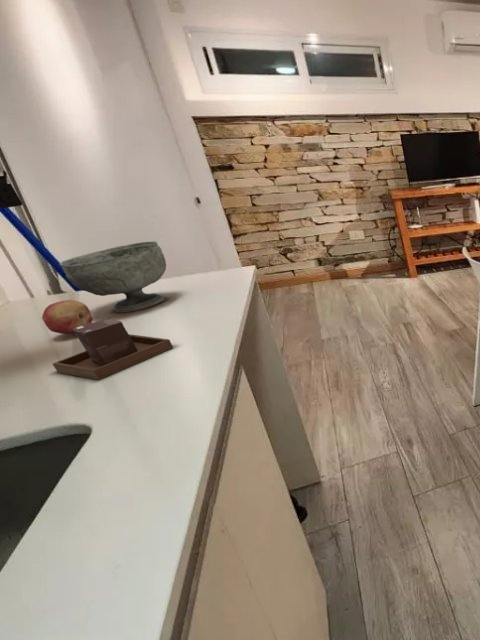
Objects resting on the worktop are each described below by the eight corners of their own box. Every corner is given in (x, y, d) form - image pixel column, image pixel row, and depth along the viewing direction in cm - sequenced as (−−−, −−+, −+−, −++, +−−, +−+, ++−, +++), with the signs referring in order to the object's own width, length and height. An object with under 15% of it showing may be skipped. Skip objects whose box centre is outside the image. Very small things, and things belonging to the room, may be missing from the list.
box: (140, 353, 97) (122, 321, 94) (102, 367, 93) (82, 333, 90) (128, 348, 100) (110, 316, 97) (91, 361, 96) (71, 328, 93)
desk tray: (99, 379, 89) (93, 370, 88) (57, 372, 93) (51, 363, 92) (173, 347, 100) (169, 339, 99) (133, 342, 104) (129, 334, 104)
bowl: (115, 299, 133) (86, 247, 126) (195, 287, 138) (171, 237, 131) (69, 326, 116) (32, 268, 109) (161, 312, 121) (132, 255, 114)
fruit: (66, 342, 107) (46, 309, 103) (46, 339, 109) (25, 307, 106) (107, 327, 114) (89, 296, 110) (86, 325, 116) (68, 294, 112)
